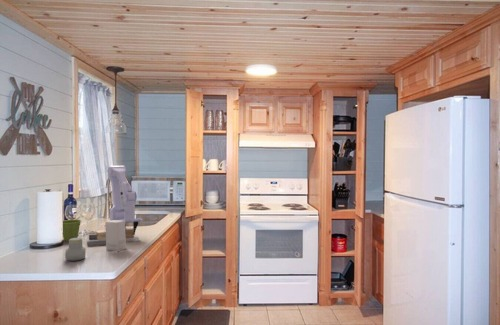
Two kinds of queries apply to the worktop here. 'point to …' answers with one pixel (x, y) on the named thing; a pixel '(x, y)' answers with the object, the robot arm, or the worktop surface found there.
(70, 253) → the air freshener
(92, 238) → the parts bin
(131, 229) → the box stamped
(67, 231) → the plant pot
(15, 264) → the worktop surface
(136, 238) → the coaster
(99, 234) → the box plain
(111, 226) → the skincare box
